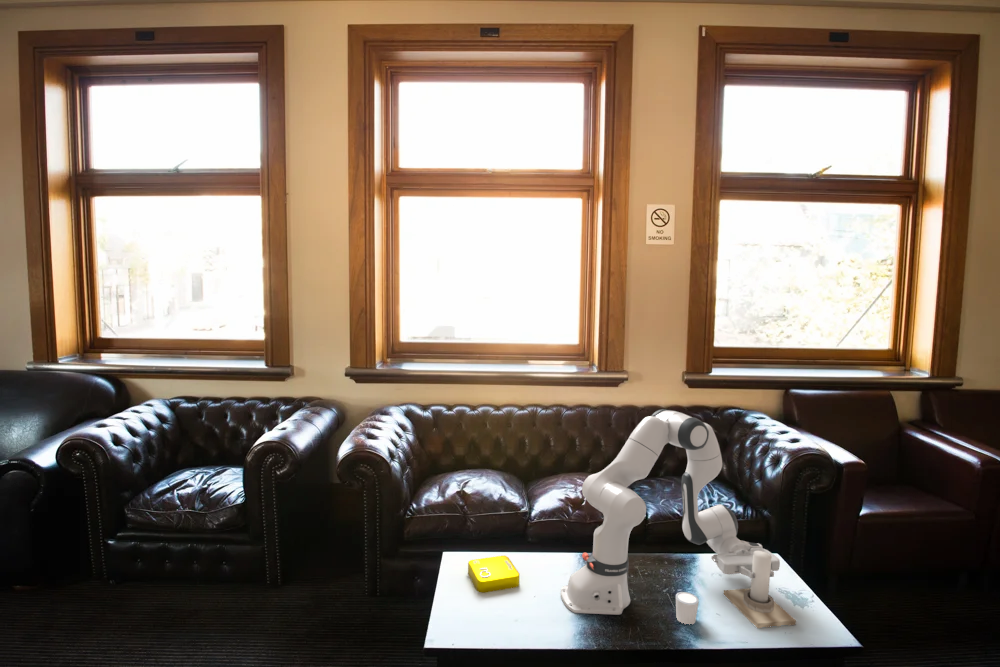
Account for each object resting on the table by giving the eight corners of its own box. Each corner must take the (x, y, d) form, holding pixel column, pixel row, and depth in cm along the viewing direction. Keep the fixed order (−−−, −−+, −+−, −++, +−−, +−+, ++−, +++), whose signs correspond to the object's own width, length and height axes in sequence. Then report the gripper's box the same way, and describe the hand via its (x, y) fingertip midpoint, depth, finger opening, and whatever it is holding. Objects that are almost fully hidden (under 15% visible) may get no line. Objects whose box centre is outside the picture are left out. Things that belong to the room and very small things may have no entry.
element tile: (521, 587, 185) (521, 574, 185) (478, 594, 180) (478, 581, 180) (506, 565, 199) (506, 553, 199) (466, 571, 194) (466, 558, 194)
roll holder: (757, 628, 166) (758, 615, 166) (723, 594, 184) (724, 583, 183) (795, 624, 168) (796, 612, 168) (758, 591, 186) (759, 580, 185)
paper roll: (756, 604, 173) (760, 559, 171) (746, 595, 178) (749, 551, 176) (771, 603, 174) (775, 558, 172) (760, 593, 179) (764, 550, 177)
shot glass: (694, 613, 173) (695, 592, 172) (700, 627, 166) (701, 605, 165) (672, 611, 173) (673, 590, 173) (676, 625, 166) (678, 603, 166)
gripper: (709, 546, 185) (733, 568, 172) (764, 543, 189) (791, 563, 175) (708, 564, 186) (731, 587, 172) (762, 560, 189) (790, 582, 176)
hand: (762, 575), depth 174 cm, fingers closed on paper roll, 5 cm apart
